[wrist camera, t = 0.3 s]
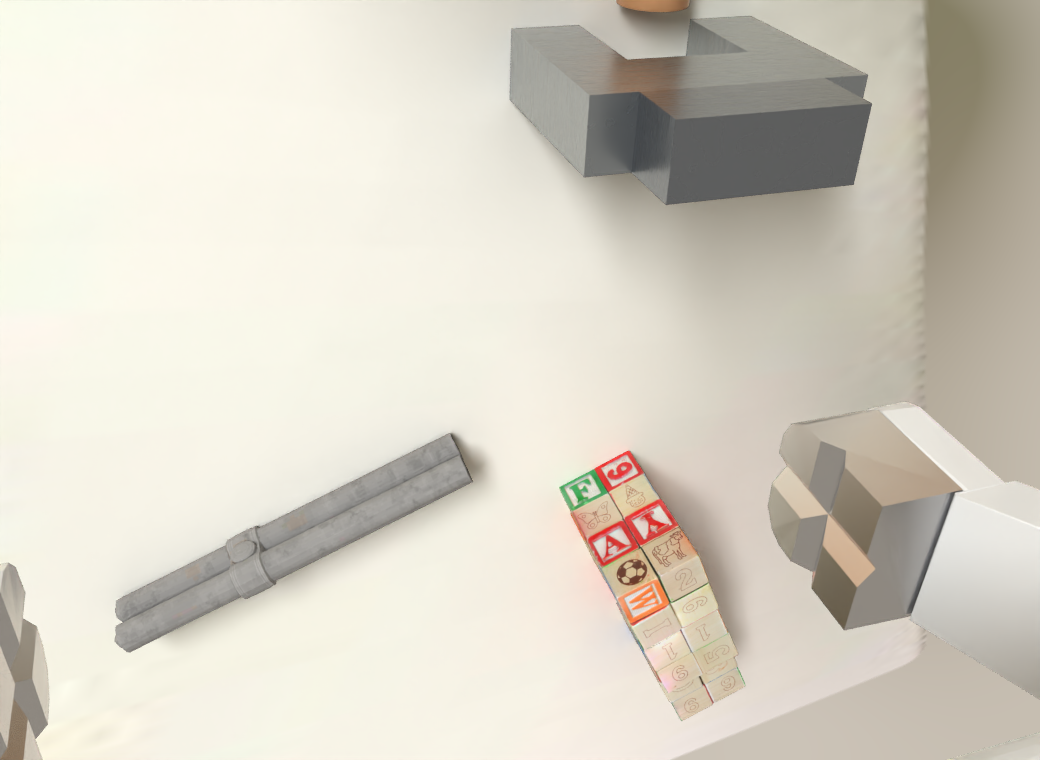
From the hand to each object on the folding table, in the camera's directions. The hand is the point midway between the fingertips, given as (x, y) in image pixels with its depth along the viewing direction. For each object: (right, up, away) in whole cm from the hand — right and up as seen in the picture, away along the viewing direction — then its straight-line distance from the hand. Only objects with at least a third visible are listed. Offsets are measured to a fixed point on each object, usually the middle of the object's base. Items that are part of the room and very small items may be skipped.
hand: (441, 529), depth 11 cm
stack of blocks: (+10, -12, +72) cm, 74 cm away
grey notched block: (+7, +21, +48) cm, 53 cm away
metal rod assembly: (-16, -8, +59) cm, 62 cm away
